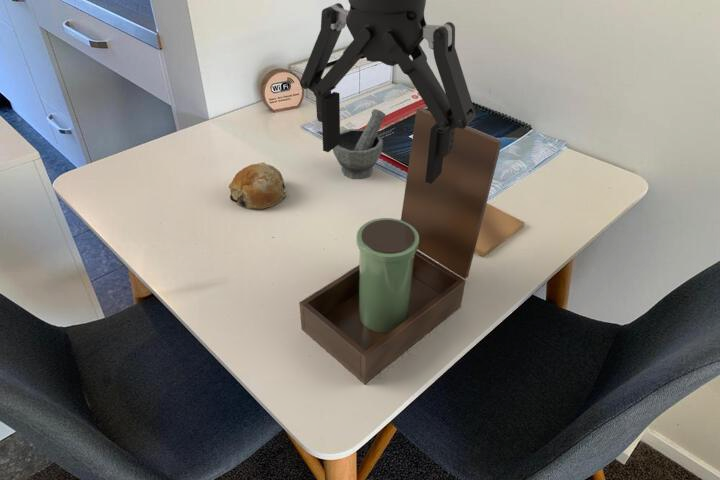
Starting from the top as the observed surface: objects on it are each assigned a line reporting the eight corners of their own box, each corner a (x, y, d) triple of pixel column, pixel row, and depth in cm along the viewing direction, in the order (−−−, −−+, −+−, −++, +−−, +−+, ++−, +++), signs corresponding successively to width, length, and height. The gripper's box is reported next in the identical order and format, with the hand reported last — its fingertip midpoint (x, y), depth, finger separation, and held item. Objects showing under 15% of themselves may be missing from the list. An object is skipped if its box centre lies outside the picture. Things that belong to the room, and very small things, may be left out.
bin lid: (498, 142, 60) (521, 132, 63) (416, 108, 67) (441, 100, 70) (464, 279, 72) (485, 265, 75) (397, 237, 79) (419, 226, 82)
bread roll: (282, 224, 97) (297, 188, 93) (227, 212, 92) (242, 175, 88) (273, 195, 104) (288, 161, 101) (223, 183, 99) (236, 147, 96)
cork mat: (483, 257, 85) (484, 252, 84) (426, 224, 91) (427, 220, 91) (523, 226, 91) (524, 222, 91) (468, 198, 98) (468, 193, 97)
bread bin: (364, 385, 65) (365, 358, 62) (301, 329, 72) (299, 302, 69) (461, 307, 76) (466, 280, 73) (397, 265, 83) (399, 239, 80)
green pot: (384, 344, 69) (389, 264, 61) (344, 313, 74) (343, 234, 65) (422, 314, 74) (432, 236, 65) (382, 286, 78) (387, 209, 69)
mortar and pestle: (350, 189, 100) (350, 132, 92) (324, 168, 106) (322, 113, 98) (396, 171, 105) (399, 116, 98) (368, 152, 111) (370, 99, 103)
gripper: (533, -31, 46) (492, 176, 59) (301, -59, 56) (310, 124, 69) (506, -14, 41) (468, 208, 54) (256, -48, 51) (275, 147, 64)
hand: (380, 161), depth 61 cm, fingers open, 13 cm apart
